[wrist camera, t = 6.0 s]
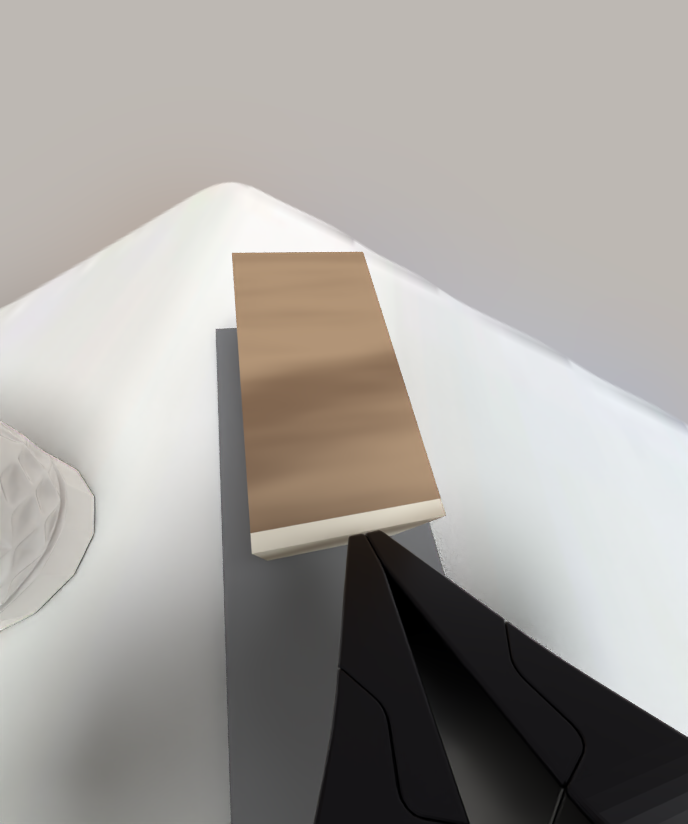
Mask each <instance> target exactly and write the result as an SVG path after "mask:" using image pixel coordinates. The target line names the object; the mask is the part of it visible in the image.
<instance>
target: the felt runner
mask: <svg viewBox="0 0 688 824" xmlns="http://www.w3.org/2000/svg"><path fill="white" fill-rule="evenodd" d="M216 349H217V381H218V413H219V446H220V478H221V511H222V543H223V576H224V608H225V640H226V673H227V705H228V738H229V770H230V803H231V824H313V820H314V815H315V810H316V805H317V800H318V795H319V790H320V785H321V780H322V775H323V769H324V763H325V758H326V752H327V746H328V740H329V735H330V729H331V720H332V711H333V703H334V694H335V683H336V672H337V662H338V650H339V638H340V627H341V615H342V603H343V592H344V580H345V568H346V556H347V545H343V546H338V547H333V548H328V549H323V550H318V551H313V552H308V553H303V554H299V555H294V556H289V557H284V558H279V559H274V560H269V561H267V560H265V559H262V558H260V557H258V556H256V555H253V554H252V549H251V534H250V519H249V503H248V488H247V473H246V458H245V443H244V428H243V412H242V397H241V382H240V367H239V352H238V337H237V328H227V329H216ZM390 537H391V538H393V539H394V540H395V541H397V542H398V543H400V544H401V545H402V546H404V547H405V548H406V549H408V550H409V551H411V552H412V553H413V554H415V555H416V556H418V557H419V558H420V559H422V560H423V561H425V562H426V563H427V564H429V565H430V566H431V567H433V568H434V569H436V570H437V571H438V572H440V573H441V574H443V575H444V571H443V568H442V564H441V561H440V558H439V554H438V551H437V547H436V544H435V540H434V537H433V534H432V530H431V527H430V523H429V522H428V523H425V524H422V525H420V526H417V527H414V528H412V529H409V530H406V531H404V532H401V533H398V534H396V535H392V536H390ZM444 576H445V575H444Z"/></svg>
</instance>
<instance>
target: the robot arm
mask: <svg viewBox="0 0 688 824" xmlns="http://www.w3.org/2000/svg"><path fill="white" fill-rule="evenodd" d="M313 824H688V737H687V736H685V735H684V734H682V733H680V732H679V731H677V730H675V729H674V728H672V727H671V726H669V725H667V724H666V723H664V722H662V721H661V720H659V719H658V718H656V717H654V716H653V715H651V714H649V713H648V712H646V711H645V710H643V709H641V708H640V707H638V706H636V705H635V704H633V703H632V702H630V701H628V700H627V699H625V698H623V697H622V696H620V695H619V694H617V693H615V692H614V691H612V690H610V689H609V688H607V687H606V686H604V685H602V684H601V683H599V682H597V681H596V680H594V679H593V678H591V677H589V676H588V675H586V674H585V673H583V672H582V671H580V670H578V669H577V668H575V667H574V666H572V665H571V664H569V663H567V662H566V661H564V660H563V659H561V658H560V657H558V656H557V655H555V654H554V653H552V652H551V651H549V650H548V649H546V648H545V647H543V646H542V645H541V644H539V643H538V642H536V641H535V640H533V639H532V638H530V637H529V636H528V635H526V634H525V633H523V632H522V631H521V630H519V629H518V628H516V627H515V626H514V625H512V624H511V623H509V622H505V620H504V619H503V618H502V617H501V616H499V615H498V614H497V613H495V612H494V611H493V610H491V609H490V608H488V607H487V606H486V605H484V604H483V603H481V602H480V601H479V600H477V599H476V598H474V597H473V596H472V595H470V594H469V593H468V592H466V591H465V590H463V589H462V588H461V587H459V586H458V585H456V584H455V583H454V582H452V581H451V580H449V579H448V578H447V577H445V576H444V575H443V574H441V573H440V572H438V571H437V570H436V569H434V568H433V567H431V566H430V565H429V564H427V563H426V562H425V561H423V560H422V559H420V558H419V557H418V556H416V555H415V554H413V553H412V552H411V551H409V550H408V549H406V548H405V547H404V546H402V545H401V544H400V543H398V542H397V541H395V540H394V539H393V538H391V537H390V536H388V535H387V534H386V533H384V532H383V531H381V530H376V531H371V532H367V533H366V534H363V533H361V534H356V535H351V536H349V537H348V545H347V556H346V568H345V580H344V592H343V603H342V615H341V627H340V638H339V650H338V662H337V672H336V683H335V694H334V703H333V711H332V720H331V729H330V735H329V740H328V746H327V752H326V758H325V763H324V769H323V775H322V780H321V785H320V790H319V795H318V800H317V805H316V810H315V815H314V820H313Z"/></svg>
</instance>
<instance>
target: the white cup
mask: <svg viewBox="0 0 688 824" xmlns="http://www.w3.org/2000/svg"><path fill="white" fill-rule="evenodd" d="M93 534H94V496H93V494H92V493H91V491H90V489H89V488H88V486H87V485H86V483H85V481H84V480H83V478H82V477H81V475H80V473H79V472H78V470H76V469H75V468H73V467H71V466H70V465H68V464H66V463H64V462H62V461H61V460H59V459H57V458H55V457H53V456H52V455H50V454H48V453H46V452H45V451H43V450H41V449H40V448H39V447H37V446H36V445H35V444H34V443H33V442H31V441H30V440H29V439H28V438H27V437H26V436H24V435H22V434H21V433H19V432H18V431H16V430H15V429H13V428H12V427H10V426H9V425H7V424H5V423H4V422H2V421H0V631H1V630H3V629H5V628H7V627H9V626H11V625H13V624H15V623H17V622H19V621H21V620H23V619H25V618H27V617H29V616H31V615H33V614H34V613H36V612H37V611H38V610H39V609H40V608H41V607H42V606H43V605H44V604H45V603H46V602H47V601H48V600H49V599H50V598H51V597H52V596H53V595H54V594H55V593H56V592H57V591H58V590H59V589H60V588H61V587H62V586H63V585H64V584H65V583H66V582H67V581H68V580H69V579H70V578H71V577H72V576H73V575H74V573H75V571H76V569H77V567H78V565H79V563H80V561H81V559H82V557H83V555H84V553H85V551H86V549H87V547H88V544H89V542H90V540H91V538H92V536H93Z"/></svg>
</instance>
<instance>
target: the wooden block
mask: <svg viewBox="0 0 688 824" xmlns="http://www.w3.org/2000/svg"><path fill="white" fill-rule="evenodd" d="M232 261H233V276H234V291H235V306H236V321H237V337H238V352H239V367H240V382H241V397H242V412H243V428H244V443H245V458H246V473H247V488H248V503H249V519H250V534H251V549H252V554H253V555H256V556H258V557H260V558H262V559H265V560H267V561H269V560H274V559H279V558H284V557H289V556H294V555H299V554H303V553H308V552H313V551H318V550H323V549H328V548H333V547H338V546H343V545H348V537H349V536H351V535H356V534H361V533H363V534H366V533H367V532H371V531H376V530H381V531H383V532H384V533H386V534H387V535H388V536H392V535H396V534H398V533H401V532H404V531H406V530H409V529H412V528H414V527H417V526H420V525H422V524H425V523H428V522H430V521H433V520H436V519H438V518H441V517H444V516H446V514H445V510H444V507H443V504H442V501H441V498H440V495H439V491H438V488H437V485H436V482H435V479H434V476H433V472H432V469H431V466H430V463H429V460H428V457H427V453H426V450H425V447H424V444H423V441H422V437H421V434H420V431H419V428H418V425H417V422H416V418H415V415H414V412H413V409H412V406H411V403H410V399H409V396H408V393H407V390H406V387H405V384H404V380H403V377H402V374H401V371H400V368H399V365H398V361H397V358H396V355H395V352H394V349H393V346H392V342H391V339H390V336H389V333H388V330H387V327H386V323H385V320H384V317H383V314H382V311H381V308H380V304H379V301H378V298H377V295H376V292H375V289H374V285H373V282H372V279H371V276H370V273H369V270H368V266H367V263H366V260H365V257H364V254H363V252H287V253H232Z"/></svg>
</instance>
